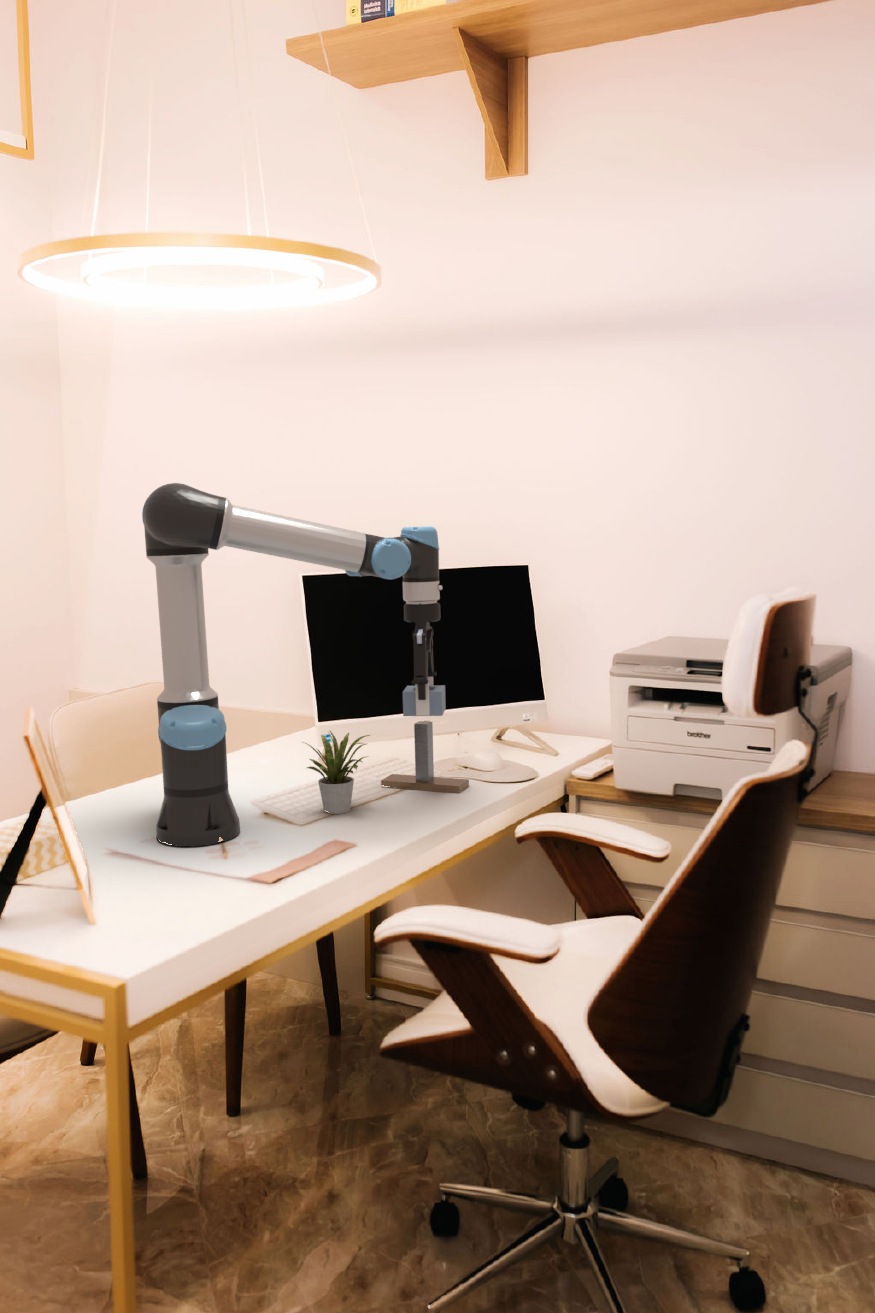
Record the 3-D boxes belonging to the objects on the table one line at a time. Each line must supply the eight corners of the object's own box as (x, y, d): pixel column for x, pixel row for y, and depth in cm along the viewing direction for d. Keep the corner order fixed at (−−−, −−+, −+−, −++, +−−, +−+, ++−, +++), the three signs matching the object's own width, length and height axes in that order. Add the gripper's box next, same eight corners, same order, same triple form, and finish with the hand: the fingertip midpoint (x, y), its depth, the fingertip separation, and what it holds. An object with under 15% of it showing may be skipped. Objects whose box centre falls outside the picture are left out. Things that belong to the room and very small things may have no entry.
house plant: (393, 807, 210) (391, 727, 207) (349, 824, 198) (346, 740, 196) (338, 798, 218) (335, 720, 215) (293, 814, 206) (290, 733, 204)
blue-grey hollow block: (442, 715, 213) (441, 691, 212) (403, 716, 214) (402, 692, 213) (445, 708, 221) (445, 685, 220) (408, 709, 222) (407, 685, 221)
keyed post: (459, 793, 219) (458, 727, 217) (381, 787, 226) (379, 723, 224) (468, 786, 225) (467, 722, 223) (392, 780, 231) (390, 718, 229)
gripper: (434, 606, 204) (438, 720, 207) (444, 597, 224) (447, 702, 227) (396, 606, 204) (400, 721, 207) (410, 598, 225) (413, 702, 228)
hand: (425, 711), depth 217 cm, fingers closed on blue-grey hollow block, 8 cm apart
